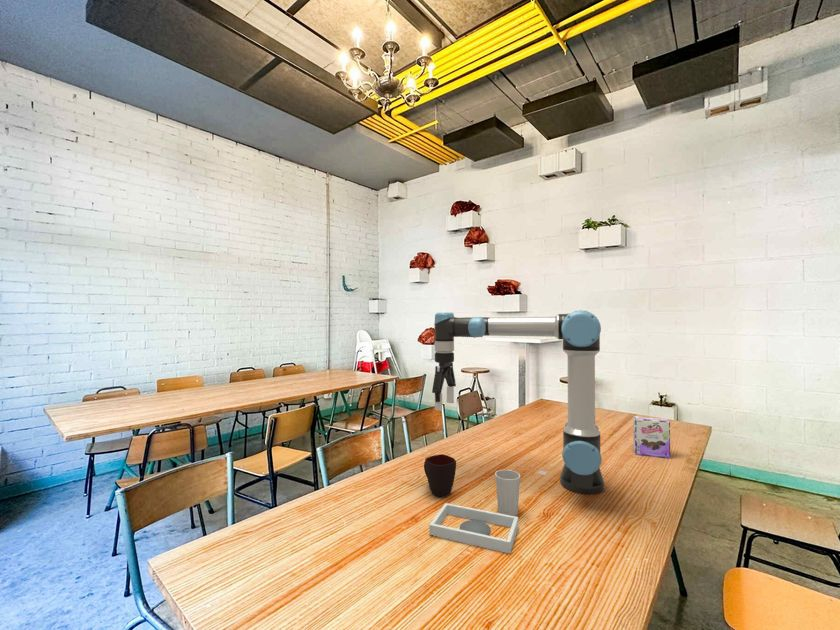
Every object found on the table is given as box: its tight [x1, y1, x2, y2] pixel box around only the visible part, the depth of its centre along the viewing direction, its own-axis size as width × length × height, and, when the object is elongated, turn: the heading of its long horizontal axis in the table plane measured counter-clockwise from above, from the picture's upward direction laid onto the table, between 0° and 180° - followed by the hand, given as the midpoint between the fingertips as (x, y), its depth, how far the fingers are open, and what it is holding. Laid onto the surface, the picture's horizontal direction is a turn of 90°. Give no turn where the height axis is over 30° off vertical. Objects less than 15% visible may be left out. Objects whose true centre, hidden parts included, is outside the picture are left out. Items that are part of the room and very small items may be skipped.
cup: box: [494, 469, 521, 517], centre depth 124 cm, size 8×8×12 cm
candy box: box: [632, 415, 671, 459], centre depth 175 cm, size 14×6×16 cm, turn 68°
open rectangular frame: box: [428, 502, 519, 555], centre depth 113 cm, size 23×14×3 cm, turn 67°
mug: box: [423, 454, 457, 499], centre depth 139 cm, size 10×14×12 cm
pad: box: [459, 519, 492, 536], centre depth 114 cm, size 9×9×1 cm
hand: (444, 406), depth 150 cm, fingers open, 13 cm apart
